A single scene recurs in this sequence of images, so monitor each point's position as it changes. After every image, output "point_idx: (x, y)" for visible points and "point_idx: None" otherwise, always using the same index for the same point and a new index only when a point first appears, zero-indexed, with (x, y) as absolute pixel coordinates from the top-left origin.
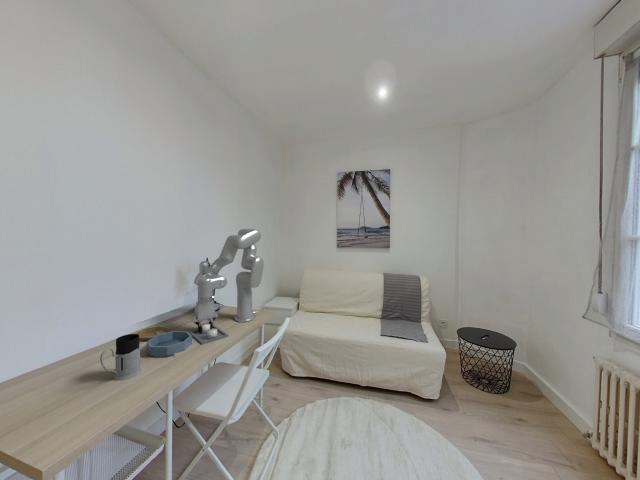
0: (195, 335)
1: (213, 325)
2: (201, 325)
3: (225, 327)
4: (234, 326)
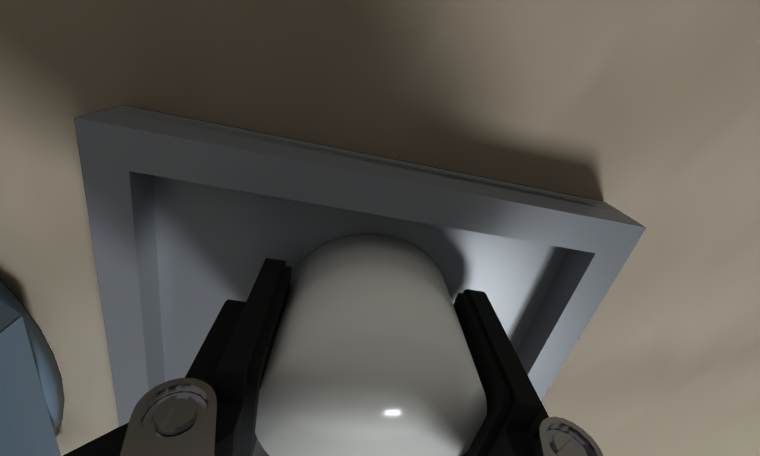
0: (137, 383)
1: (617, 244)
2: (281, 401)
3: (678, 318)
4: (741, 371)
